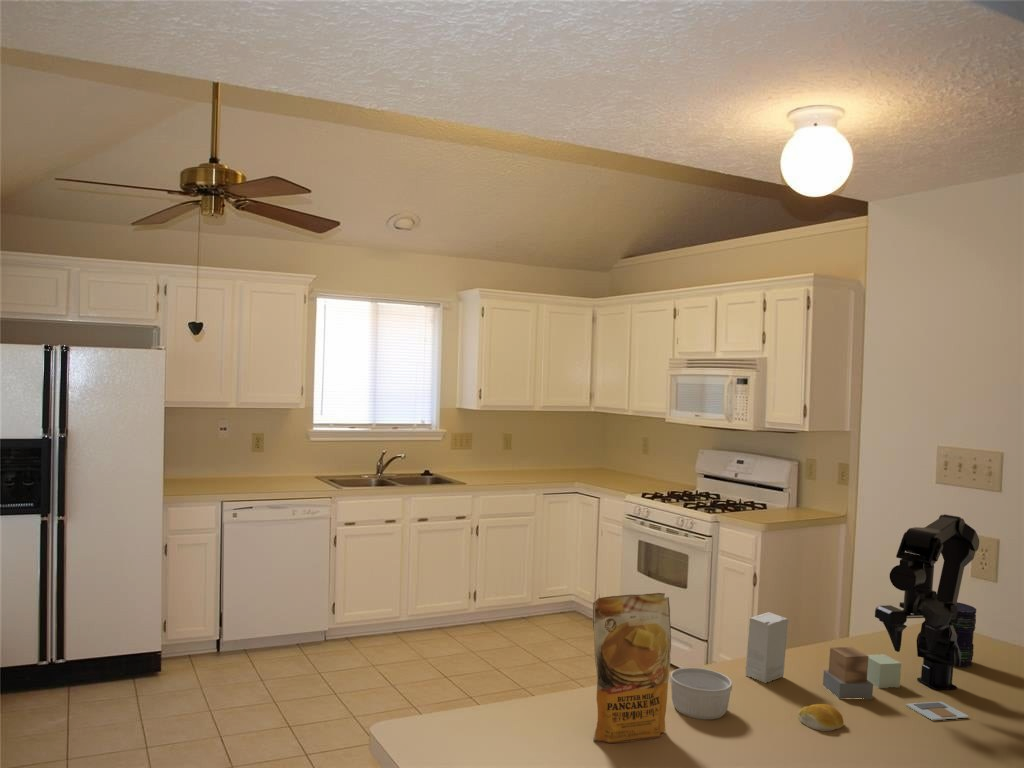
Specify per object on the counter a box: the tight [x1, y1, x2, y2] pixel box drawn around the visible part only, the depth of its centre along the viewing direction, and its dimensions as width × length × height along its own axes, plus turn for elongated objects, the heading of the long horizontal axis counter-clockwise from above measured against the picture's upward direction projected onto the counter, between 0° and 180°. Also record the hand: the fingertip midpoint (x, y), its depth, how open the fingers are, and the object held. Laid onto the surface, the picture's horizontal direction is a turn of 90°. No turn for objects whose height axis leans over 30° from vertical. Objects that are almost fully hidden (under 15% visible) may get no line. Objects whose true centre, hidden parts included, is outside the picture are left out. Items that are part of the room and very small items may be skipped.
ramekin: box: [669, 667, 733, 721], centre depth 180 cm, size 13×13×7 cm
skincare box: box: [745, 611, 789, 684], centre depth 201 cm, size 8×6×15 cm
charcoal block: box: [822, 669, 874, 700], centre depth 195 cm, size 8×8×4 cm
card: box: [905, 701, 970, 721], centre depth 186 cm, size 10×8×1 cm
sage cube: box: [866, 653, 902, 689], centre depth 202 cm, size 6×6×6 cm
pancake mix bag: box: [592, 592, 672, 744], centre depth 165 cm, size 7×19×28 cm, turn 111°
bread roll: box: [797, 703, 845, 732], centre depth 177 cm, size 8×9×4 cm
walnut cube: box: [828, 646, 868, 682], centre depth 195 cm, size 6×6×6 cm
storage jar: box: [950, 601, 977, 669], centre depth 222 cm, size 10×10×15 cm
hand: (913, 650), depth 191 cm, fingers open, 9 cm apart
